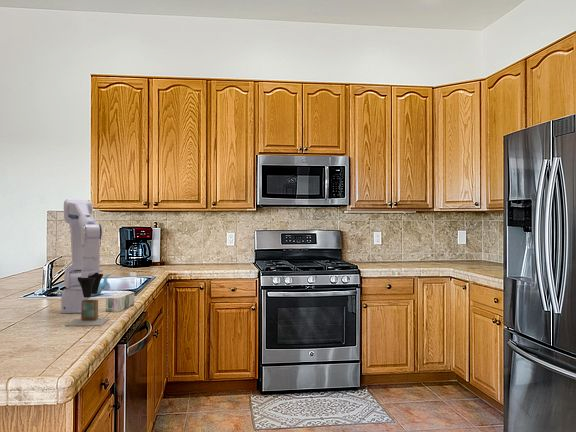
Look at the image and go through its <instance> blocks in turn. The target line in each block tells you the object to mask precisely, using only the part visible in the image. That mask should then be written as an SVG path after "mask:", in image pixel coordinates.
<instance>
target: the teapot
mask: <svg viewBox="0 0 576 432" xmlns="http://www.w3.org/2000/svg"><path fill="white" fill-rule="evenodd" d="M109 276H111V273H109V274H106V275H104V277H103V281H102V283H101V282H100V284H99V288H98V292H97V294H91V297H95V296H96V297H97V296H99V295H101V293H102V291H103V290H104V289H105V288H106V286H107V282H108V281H107V280H108V277H109Z"/></svg>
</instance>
